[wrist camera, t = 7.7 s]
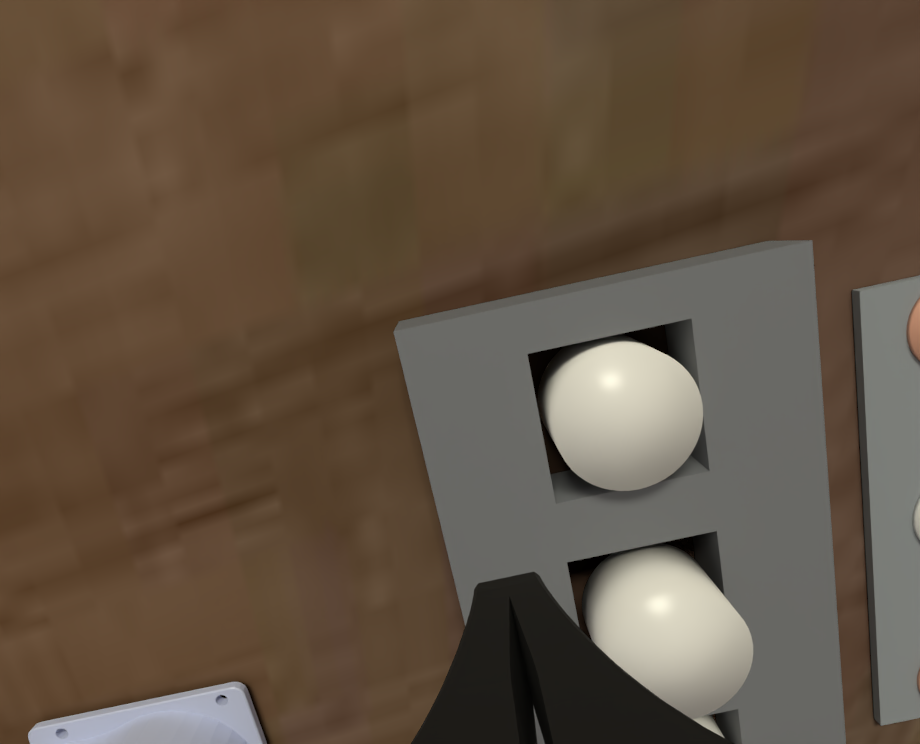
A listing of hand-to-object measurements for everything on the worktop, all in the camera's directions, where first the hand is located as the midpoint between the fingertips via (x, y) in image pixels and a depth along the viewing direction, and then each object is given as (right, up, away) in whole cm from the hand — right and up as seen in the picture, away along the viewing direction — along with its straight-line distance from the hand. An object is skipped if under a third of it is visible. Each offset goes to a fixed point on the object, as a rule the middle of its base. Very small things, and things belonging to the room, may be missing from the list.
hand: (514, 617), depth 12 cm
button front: (+4, +4, +10) cm, 11 cm away
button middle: (+6, -4, +10) cm, 12 cm away
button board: (+6, -3, +12) cm, 13 cm away
